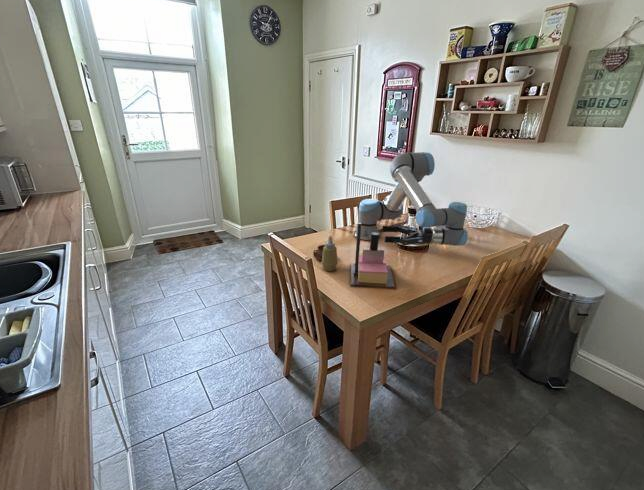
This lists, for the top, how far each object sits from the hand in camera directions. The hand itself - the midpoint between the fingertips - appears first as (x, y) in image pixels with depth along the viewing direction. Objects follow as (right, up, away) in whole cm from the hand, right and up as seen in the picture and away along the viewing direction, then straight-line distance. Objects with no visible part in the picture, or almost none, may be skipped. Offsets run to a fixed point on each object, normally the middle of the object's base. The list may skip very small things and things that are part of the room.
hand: (383, 233), depth 151 cm
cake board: (-4, -20, +9) cm, 23 cm away
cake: (-4, -20, +9) cm, 23 cm away
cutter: (-4, -14, +6) cm, 16 cm away
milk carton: (+47, 0, +56) cm, 74 cm away
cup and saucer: (-27, -12, +28) cm, 41 cm away
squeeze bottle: (-25, -17, +16) cm, 34 cm away
